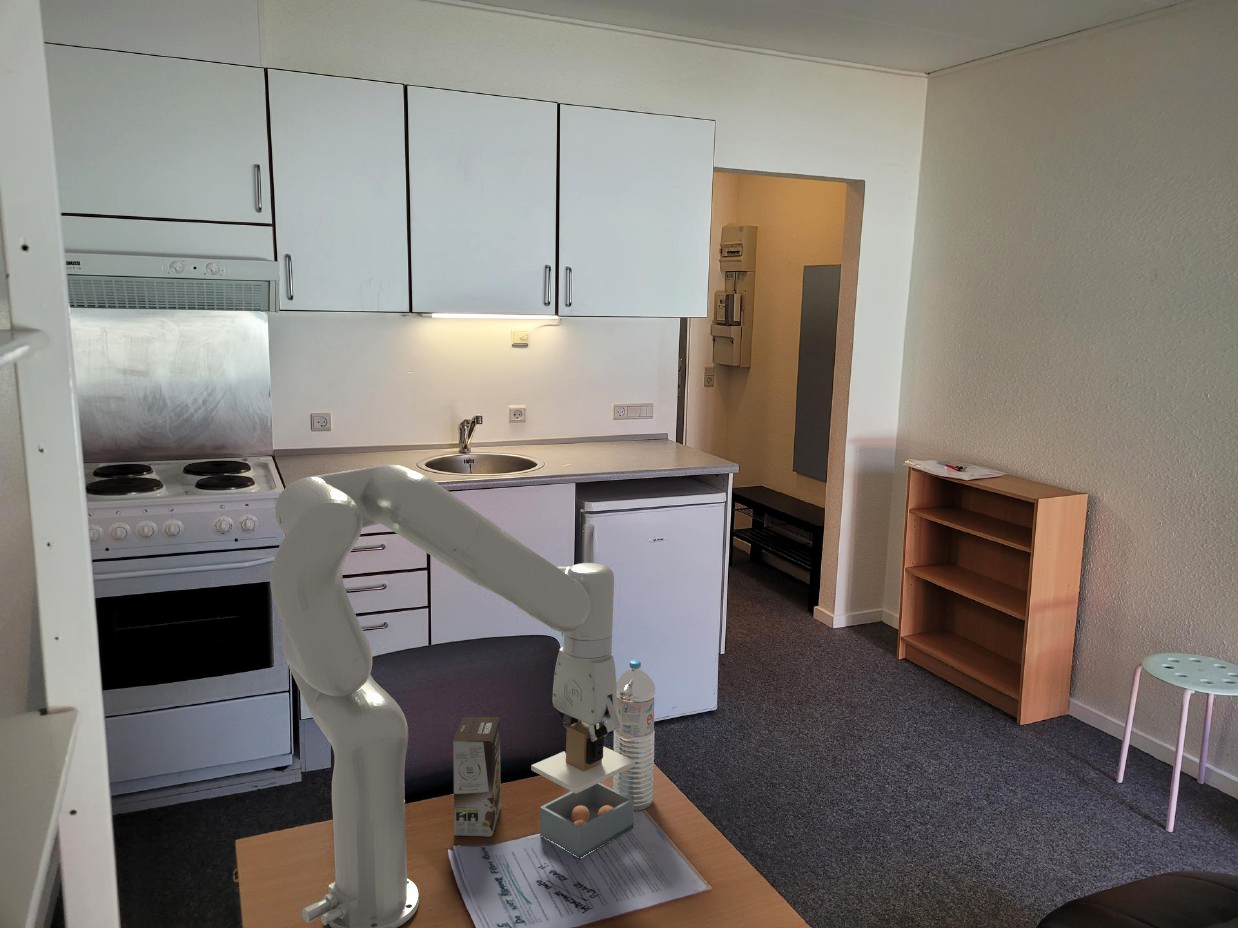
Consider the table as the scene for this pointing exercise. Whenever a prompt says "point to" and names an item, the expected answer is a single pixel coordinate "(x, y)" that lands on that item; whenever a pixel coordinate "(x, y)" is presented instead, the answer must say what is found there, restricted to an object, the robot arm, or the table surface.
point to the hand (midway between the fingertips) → (583, 754)
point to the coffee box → (476, 776)
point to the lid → (581, 762)
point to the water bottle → (635, 735)
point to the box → (597, 829)
